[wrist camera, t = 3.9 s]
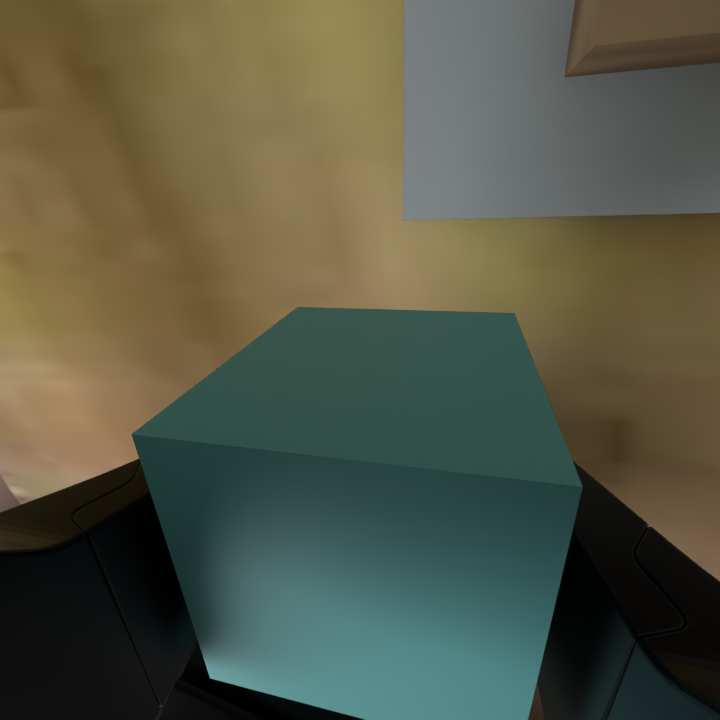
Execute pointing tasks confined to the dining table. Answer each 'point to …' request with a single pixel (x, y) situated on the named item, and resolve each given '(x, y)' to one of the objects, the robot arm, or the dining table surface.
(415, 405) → the teal brick
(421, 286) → the dining table surface
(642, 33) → the walnut brick
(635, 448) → the dining table surface
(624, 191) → the build plate
